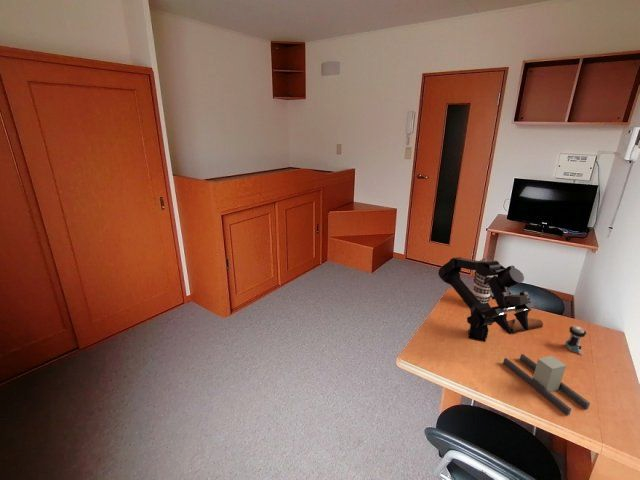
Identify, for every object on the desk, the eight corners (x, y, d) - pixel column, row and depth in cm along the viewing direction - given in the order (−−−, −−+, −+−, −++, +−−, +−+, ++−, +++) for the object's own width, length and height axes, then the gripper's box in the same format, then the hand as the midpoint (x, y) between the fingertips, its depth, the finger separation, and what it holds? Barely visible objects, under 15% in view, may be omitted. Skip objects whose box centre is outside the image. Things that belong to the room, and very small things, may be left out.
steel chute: (501, 366, 120) (503, 358, 119) (521, 361, 123) (524, 353, 121) (564, 418, 98) (568, 410, 97) (588, 411, 101) (591, 402, 100)
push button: (586, 354, 128) (594, 332, 124) (577, 356, 126) (584, 335, 123) (569, 344, 134) (576, 323, 130) (560, 346, 132) (567, 325, 129)
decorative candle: (469, 300, 167) (478, 255, 159) (489, 305, 163) (499, 259, 155) (467, 307, 160) (476, 261, 152) (487, 313, 155) (498, 265, 147)
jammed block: (531, 382, 110) (538, 358, 107) (544, 379, 112) (551, 355, 109) (544, 393, 106) (552, 368, 103) (558, 389, 108) (566, 365, 104)
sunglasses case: (525, 317, 152) (535, 310, 147) (535, 331, 148) (545, 324, 143) (496, 323, 147) (505, 316, 142) (505, 338, 142) (515, 331, 137)
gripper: (496, 287, 114) (516, 332, 107) (535, 281, 119) (556, 323, 113) (475, 297, 123) (492, 338, 117) (513, 291, 129) (531, 330, 123)
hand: (518, 332), depth 117 cm, fingers open, 8 cm apart
